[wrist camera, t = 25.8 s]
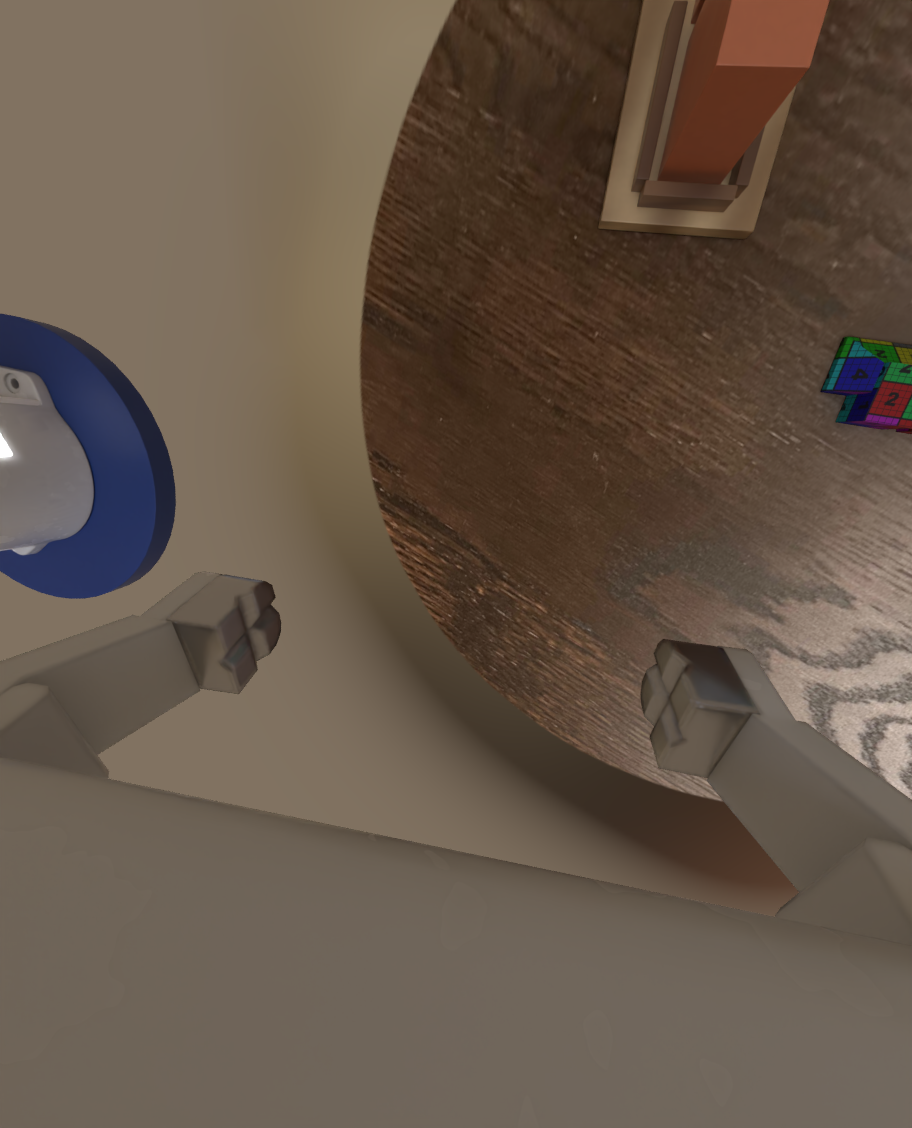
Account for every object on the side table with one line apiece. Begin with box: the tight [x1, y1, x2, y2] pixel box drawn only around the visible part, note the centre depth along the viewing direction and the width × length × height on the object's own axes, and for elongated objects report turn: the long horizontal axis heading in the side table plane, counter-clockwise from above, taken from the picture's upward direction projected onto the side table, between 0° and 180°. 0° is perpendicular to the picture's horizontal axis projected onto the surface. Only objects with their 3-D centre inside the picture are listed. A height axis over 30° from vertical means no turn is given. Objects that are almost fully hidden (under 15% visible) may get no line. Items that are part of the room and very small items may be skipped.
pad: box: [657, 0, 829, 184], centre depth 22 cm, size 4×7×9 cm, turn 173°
